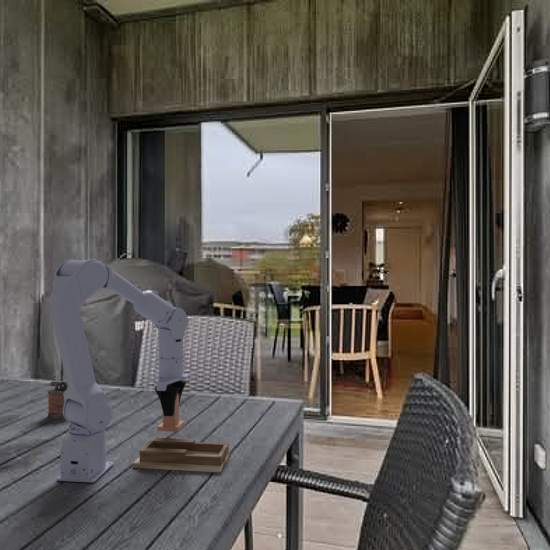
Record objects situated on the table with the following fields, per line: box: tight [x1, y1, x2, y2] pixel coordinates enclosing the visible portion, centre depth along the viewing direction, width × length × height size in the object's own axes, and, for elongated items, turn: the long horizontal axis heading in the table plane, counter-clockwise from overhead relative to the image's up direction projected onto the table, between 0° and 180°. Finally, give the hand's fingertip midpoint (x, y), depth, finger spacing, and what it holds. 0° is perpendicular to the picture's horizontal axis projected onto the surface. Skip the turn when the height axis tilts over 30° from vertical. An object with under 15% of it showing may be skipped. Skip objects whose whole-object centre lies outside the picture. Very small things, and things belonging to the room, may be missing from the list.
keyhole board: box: [132, 437, 231, 473], centre depth 113 cm, size 10×19×3 cm, turn 83°
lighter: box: [47, 379, 68, 419], centre depth 145 cm, size 8×3×10 cm, turn 92°
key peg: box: [156, 393, 185, 433], centre depth 123 cm, size 5×5×8 cm
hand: (170, 413), depth 124 cm, fingers closed on key peg, 3 cm apart
